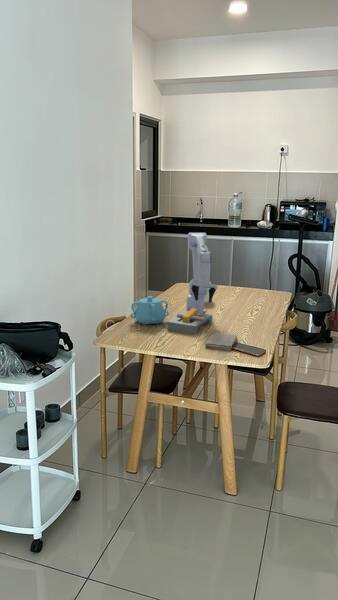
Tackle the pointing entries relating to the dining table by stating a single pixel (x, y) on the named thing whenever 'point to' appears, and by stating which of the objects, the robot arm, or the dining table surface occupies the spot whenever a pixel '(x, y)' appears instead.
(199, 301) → the robot arm
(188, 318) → the notched orange plank
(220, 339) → the washcloth
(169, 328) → the grey frame
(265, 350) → the dining table surface
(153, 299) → the decorative pot
